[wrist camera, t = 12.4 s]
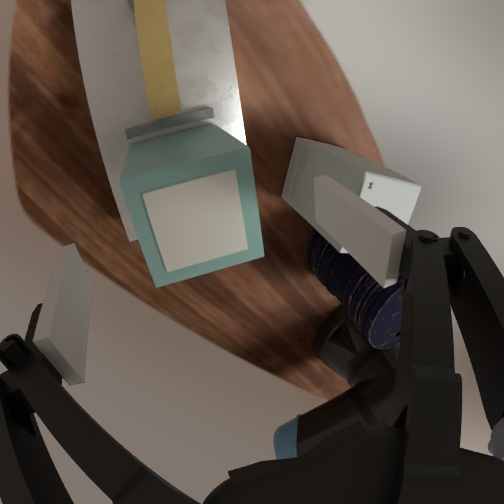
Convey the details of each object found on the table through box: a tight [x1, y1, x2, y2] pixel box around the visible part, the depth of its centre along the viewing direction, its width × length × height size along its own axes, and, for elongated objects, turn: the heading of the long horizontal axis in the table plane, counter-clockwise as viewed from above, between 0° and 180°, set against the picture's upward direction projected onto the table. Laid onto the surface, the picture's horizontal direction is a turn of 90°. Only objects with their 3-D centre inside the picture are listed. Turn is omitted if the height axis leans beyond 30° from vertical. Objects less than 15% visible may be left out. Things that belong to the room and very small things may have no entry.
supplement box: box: [281, 137, 421, 253], centre depth 30 cm, size 7×7×13 cm
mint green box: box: [119, 123, 264, 288], centre depth 21 cm, size 7×7×10 cm
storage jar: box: [306, 229, 404, 349], centre depth 36 cm, size 10×10×15 cm
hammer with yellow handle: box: [127, 0, 182, 120], centre depth 16 cm, size 3×14×5 cm, turn 6°
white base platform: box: [71, 0, 246, 242], centre depth 23 cm, size 25×12×6 cm, turn 8°
